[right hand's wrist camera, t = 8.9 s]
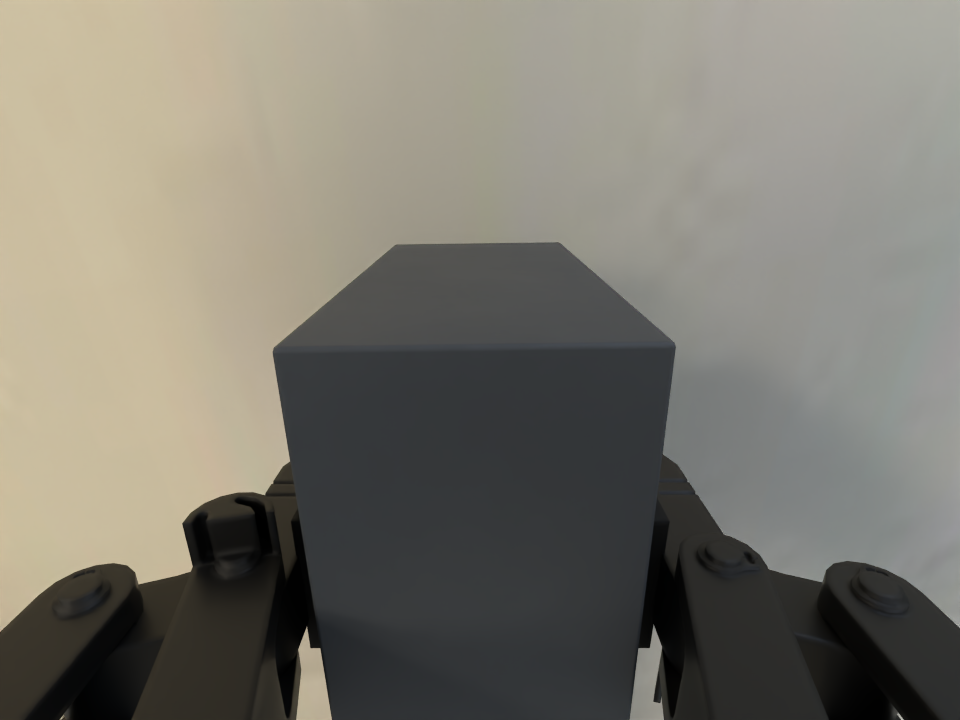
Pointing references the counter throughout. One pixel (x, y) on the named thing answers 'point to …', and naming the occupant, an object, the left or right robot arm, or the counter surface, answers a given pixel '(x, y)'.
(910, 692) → the right robot arm
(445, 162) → the counter surface
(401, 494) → the bar
